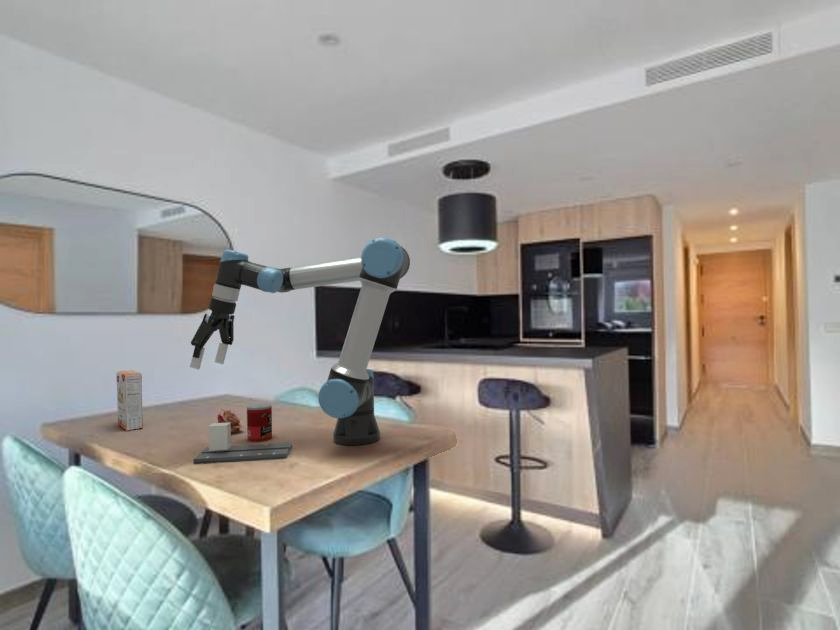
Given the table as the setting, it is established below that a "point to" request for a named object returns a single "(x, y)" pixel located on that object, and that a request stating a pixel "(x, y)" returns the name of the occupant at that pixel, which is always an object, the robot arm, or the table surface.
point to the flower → (230, 419)
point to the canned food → (259, 422)
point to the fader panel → (245, 453)
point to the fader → (219, 436)
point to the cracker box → (129, 400)
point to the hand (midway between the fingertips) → (207, 365)
